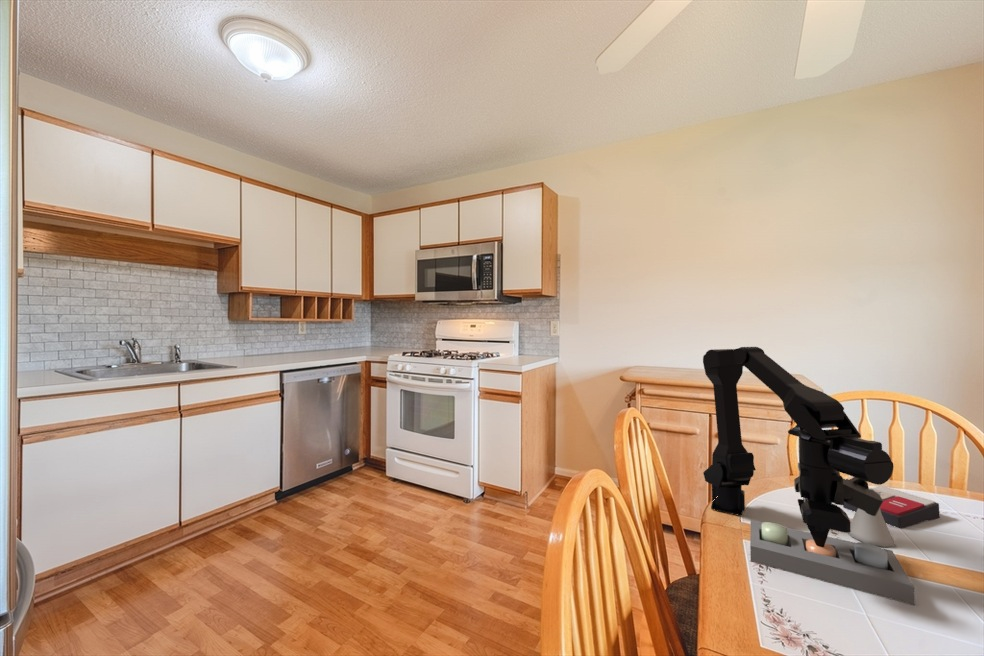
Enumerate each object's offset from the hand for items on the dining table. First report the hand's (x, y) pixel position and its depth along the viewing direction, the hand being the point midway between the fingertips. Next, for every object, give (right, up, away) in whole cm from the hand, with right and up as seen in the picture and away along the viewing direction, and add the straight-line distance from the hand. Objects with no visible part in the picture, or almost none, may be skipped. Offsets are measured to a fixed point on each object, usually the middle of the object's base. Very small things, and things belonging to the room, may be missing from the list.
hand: (819, 545), depth 73 cm
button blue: (+6, -1, -4) cm, 7 cm away
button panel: (0, -3, 0) cm, 3 cm away
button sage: (-6, -2, +4) cm, 7 cm away
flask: (+18, -3, +8) cm, 20 cm away
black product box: (+34, -4, +20) cm, 39 cm away
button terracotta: (0, -3, 0) cm, 3 cm away
